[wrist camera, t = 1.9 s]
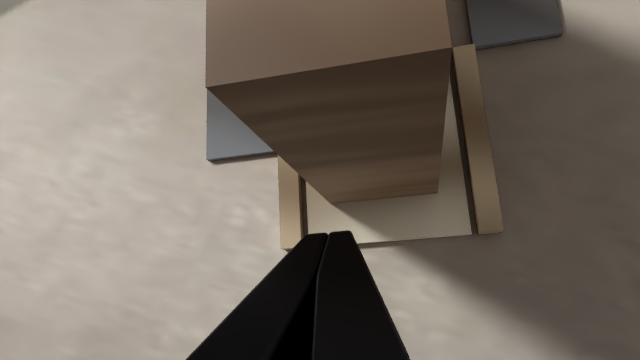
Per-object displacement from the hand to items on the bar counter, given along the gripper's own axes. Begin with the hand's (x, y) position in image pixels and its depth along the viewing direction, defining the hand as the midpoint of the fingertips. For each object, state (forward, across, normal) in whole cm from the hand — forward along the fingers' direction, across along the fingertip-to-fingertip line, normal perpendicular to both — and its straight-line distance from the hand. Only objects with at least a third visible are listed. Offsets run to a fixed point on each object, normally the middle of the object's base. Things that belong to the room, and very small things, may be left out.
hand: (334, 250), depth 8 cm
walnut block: (+16, 0, +2) cm, 16 cm away
